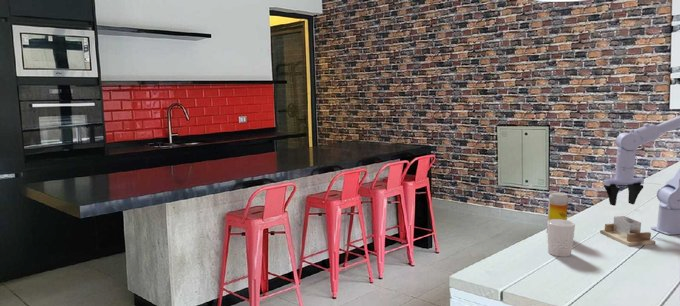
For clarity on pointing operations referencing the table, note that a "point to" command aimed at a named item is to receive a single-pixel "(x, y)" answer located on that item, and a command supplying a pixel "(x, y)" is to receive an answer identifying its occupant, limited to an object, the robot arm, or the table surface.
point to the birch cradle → (628, 237)
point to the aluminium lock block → (625, 226)
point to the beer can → (557, 206)
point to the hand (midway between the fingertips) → (622, 204)
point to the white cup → (560, 237)
